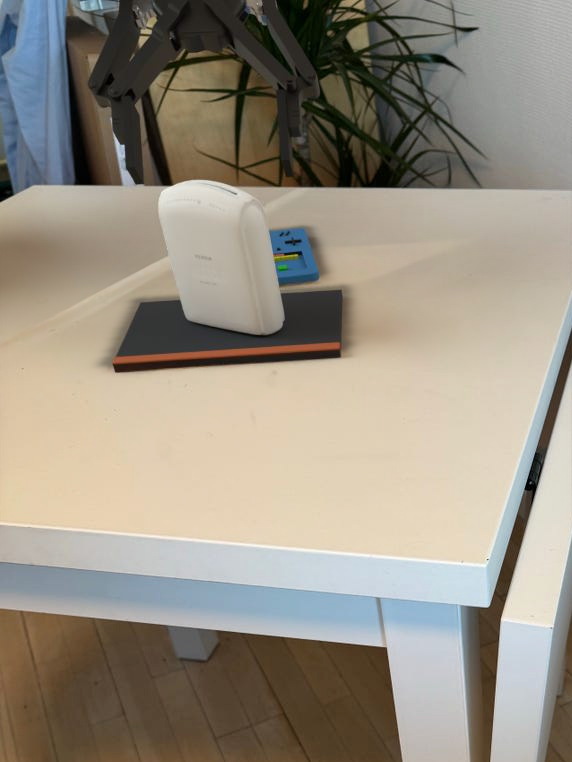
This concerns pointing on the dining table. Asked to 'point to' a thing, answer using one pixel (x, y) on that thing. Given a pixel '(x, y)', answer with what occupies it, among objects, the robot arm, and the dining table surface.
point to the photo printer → (221, 256)
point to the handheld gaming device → (293, 256)
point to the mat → (231, 336)
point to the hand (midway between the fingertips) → (211, 172)
